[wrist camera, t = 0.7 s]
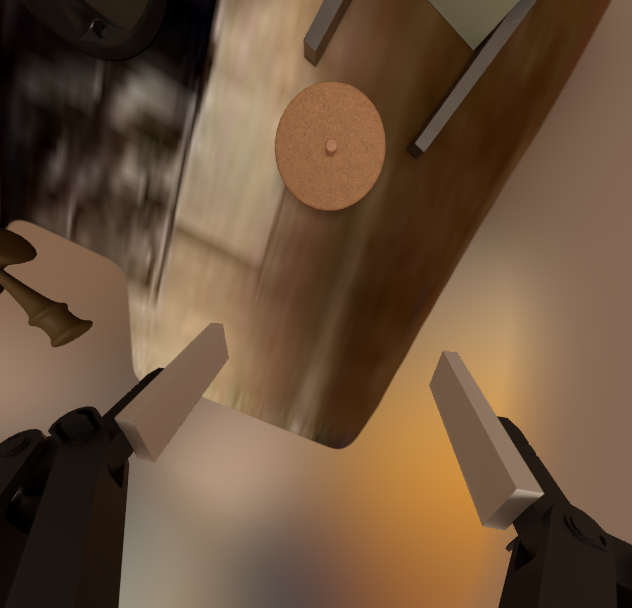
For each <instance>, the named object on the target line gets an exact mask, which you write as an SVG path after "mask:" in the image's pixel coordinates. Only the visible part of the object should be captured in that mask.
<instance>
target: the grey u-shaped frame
mask: <svg viewBox="0 0 632 608" xmlns="http://www.w3.org/2000/svg"><path fill="white" fill-rule="evenodd" d="M351 1H352V0H324V1H323V3H322V5H321V7H320V9H319V11H318V13H317V15H316V17H315V19H314V21H313V23H312V25H311V26H310V28H309V30H308V32H307V34H306V36H305V38H304V57H305V58H306V59H307V60H308V61H310V62H311V63H312V64H313V65H314V66H315V67H316V65H317V63H318V61H319V59H320V58H321V56H322V54H323V52H324V50H325V49H326V47H327V45H328V43H329V41H330V39H331V38H332V36H333V34H334V32H335V30H336V28H337V27H338V25H339V23H340V21H341V19H342V18H343V16H344V14H345V12H346V10H347V8H348V7H349V5H350V3H351ZM536 1H537V0H519V2H518V3H517V4H516V5H515V6H514V7H513V8H512V9H511V10H510V11H509V12H508V14H507V15H506V16H505V17H504V18H503V19H502V20H501V21H500V22H499V23H498V24H497V26H496V27H495V28H494V29H493V30H492V32H491V33H490V34H489V36H488V37H487V39H486V40H485V41H484V43H483V44H482V45H481V47H480V48H479V50H478V51H477V52H476V54H475V55H474V57H473V58H472V59H471V61H470V62H469V64H468V65H467V66H466V68H465V69H464V71H463V72H462V73H461V75H460V76H459V78H458V79H457V80H456V82H455V83H454V85H453V86H452V87H451V89H450V90H449V92H448V93H447V94H446V96H445V97H444V99H443V100H442V101H441V103H440V104H439V106H438V107H437V108H436V110H435V111H434V113H433V114H432V115H431V117H430V118H429V120H428V121H427V122H426V124H425V125H424V127H423V128H422V129H421V131H420V132H419V134H418V135H417V136H416V138H415V139H414V141H413V142H412V143H411V145H410V146H409V148H408V149H407V151H408V152H409V153H410V154H412V155H413V156H414V157H415V158H416V157H418V156H419V155H421V154H422V153H424V152H425V151H426V149H427V148H428V147H429V145H430V144H431V143H432V141H433V140H434V139H435V137H436V136H437V134H438V133H439V132H440V130H441V129H442V128H443V126H444V125H445V124H446V122H447V121H448V120H449V118H450V117H451V116H452V114H453V113H454V111H455V110H456V109H457V107H458V106H459V105H460V103H461V102H462V101H463V99H464V98H465V97H466V95H467V94H468V93H469V91H470V90H471V88H472V87H473V86H474V84H475V83H476V82H477V80H478V79H479V78H480V76H481V75H482V74H483V72H484V71H485V70H486V68H487V67H488V65H489V64H490V63H491V61H492V60H493V59H494V57H495V56H496V55H497V53H498V52H499V51H500V49H501V48H502V47H503V45H504V44H505V42H506V41H507V40H508V38H509V37H510V36H511V34H512V33H513V32H514V30H515V29H516V28H517V26H518V25H519V24H520V22H521V21H522V19H523V18H524V17H525V15H526V14H527V13H528V11H529V10H530V9H531V7H532V6H533V5H534V3H535V2H536Z"/></svg>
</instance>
